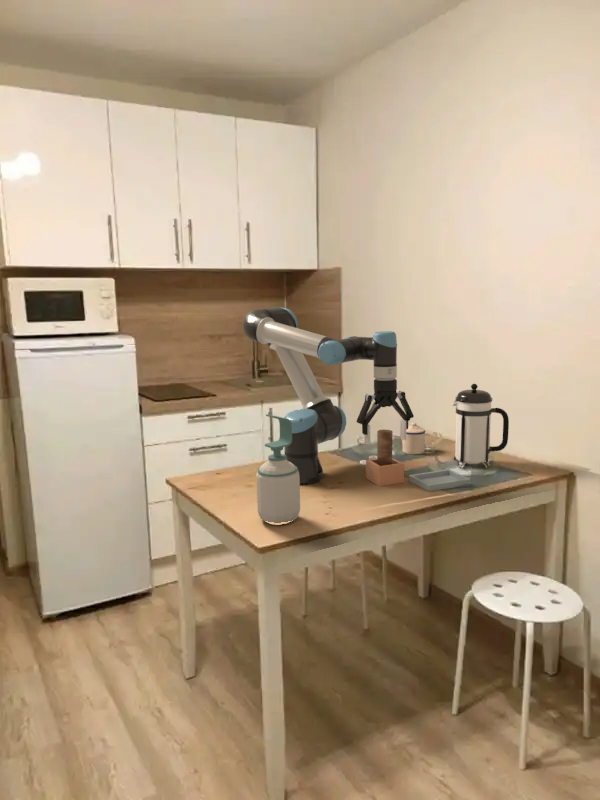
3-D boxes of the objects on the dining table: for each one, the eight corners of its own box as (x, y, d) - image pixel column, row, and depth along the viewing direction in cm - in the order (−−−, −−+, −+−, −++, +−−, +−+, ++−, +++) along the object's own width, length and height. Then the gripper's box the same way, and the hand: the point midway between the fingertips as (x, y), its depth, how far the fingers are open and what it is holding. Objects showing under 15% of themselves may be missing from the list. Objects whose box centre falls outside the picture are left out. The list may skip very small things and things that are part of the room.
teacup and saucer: (356, 465, 227) (356, 455, 226) (374, 462, 231) (374, 452, 230) (370, 471, 220) (370, 461, 219) (388, 468, 223) (388, 457, 222)
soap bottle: (249, 519, 177) (244, 414, 171) (282, 508, 185) (279, 407, 179) (275, 532, 168) (271, 421, 162) (309, 520, 175) (307, 414, 169)
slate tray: (428, 493, 195) (428, 485, 194) (408, 482, 206) (408, 475, 206) (470, 486, 201) (470, 479, 200) (448, 475, 212) (449, 469, 211)
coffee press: (477, 473, 214) (480, 389, 208) (442, 463, 226) (444, 383, 221) (508, 464, 224) (511, 383, 218) (472, 454, 236) (475, 378, 231)
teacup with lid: (430, 452, 241) (430, 423, 239) (412, 456, 236) (413, 427, 234) (409, 445, 251) (409, 418, 249) (392, 449, 246) (392, 421, 244)
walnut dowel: (381, 483, 204) (381, 433, 201) (374, 478, 208) (374, 430, 205) (394, 481, 206) (395, 432, 202) (387, 476, 210) (387, 428, 207)
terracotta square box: (379, 487, 201) (379, 467, 200) (365, 479, 210) (365, 459, 208) (403, 483, 205) (404, 463, 203) (390, 475, 213) (390, 456, 212)
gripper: (356, 383, 193) (357, 448, 196) (424, 377, 201) (423, 439, 205) (346, 380, 199) (347, 443, 203) (412, 374, 208) (411, 434, 212)
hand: (385, 441), depth 204 cm, fingers open, 13 cm apart
